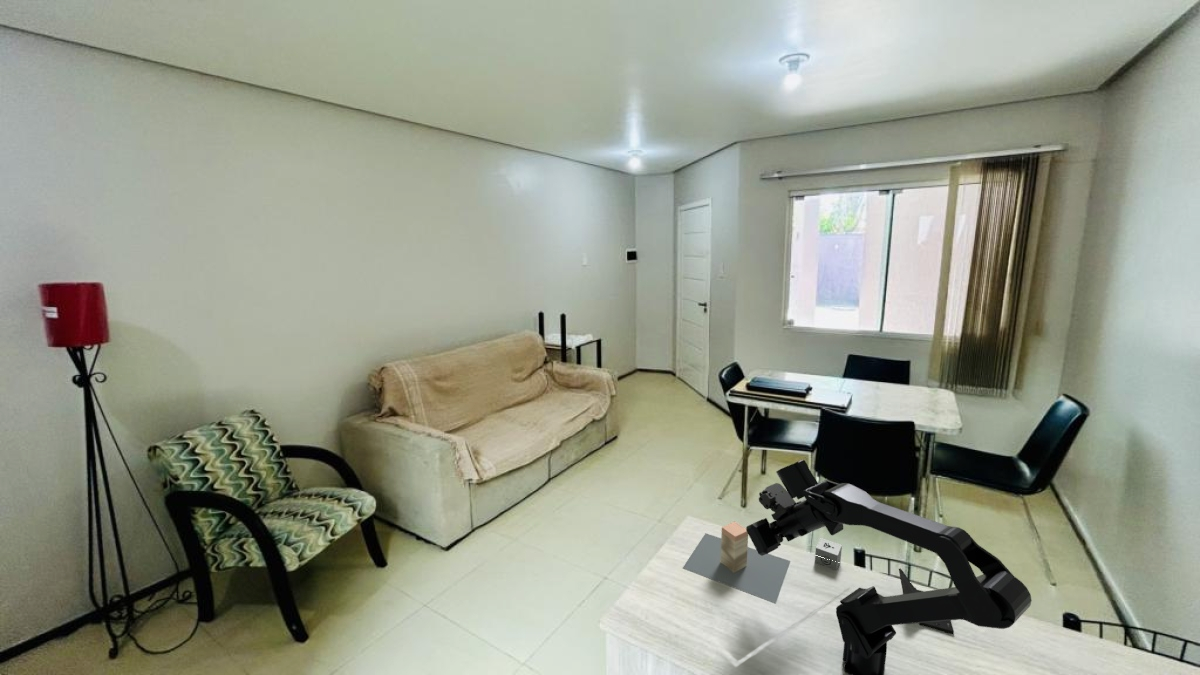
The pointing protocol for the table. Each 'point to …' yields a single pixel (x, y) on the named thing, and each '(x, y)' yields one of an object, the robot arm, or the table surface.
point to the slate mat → (754, 579)
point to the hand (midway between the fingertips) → (761, 535)
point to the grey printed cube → (828, 553)
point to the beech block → (734, 546)
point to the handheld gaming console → (909, 588)
